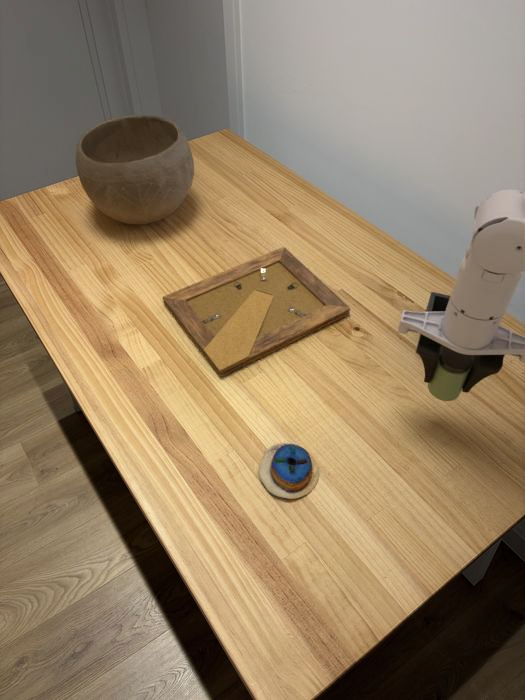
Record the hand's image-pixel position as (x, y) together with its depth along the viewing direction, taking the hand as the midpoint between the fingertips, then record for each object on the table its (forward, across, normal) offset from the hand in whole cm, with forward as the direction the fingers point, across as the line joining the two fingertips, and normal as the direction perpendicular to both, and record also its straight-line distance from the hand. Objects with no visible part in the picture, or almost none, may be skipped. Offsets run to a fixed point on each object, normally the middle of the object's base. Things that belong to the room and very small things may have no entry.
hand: (446, 381), depth 68 cm
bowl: (+8, +60, -32) cm, 68 cm away
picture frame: (+8, +30, -12) cm, 33 cm away
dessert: (+9, +16, +14) cm, 23 cm away
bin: (+8, 0, -16) cm, 18 cm away
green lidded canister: (+1, 0, 0) cm, 1 cm away
